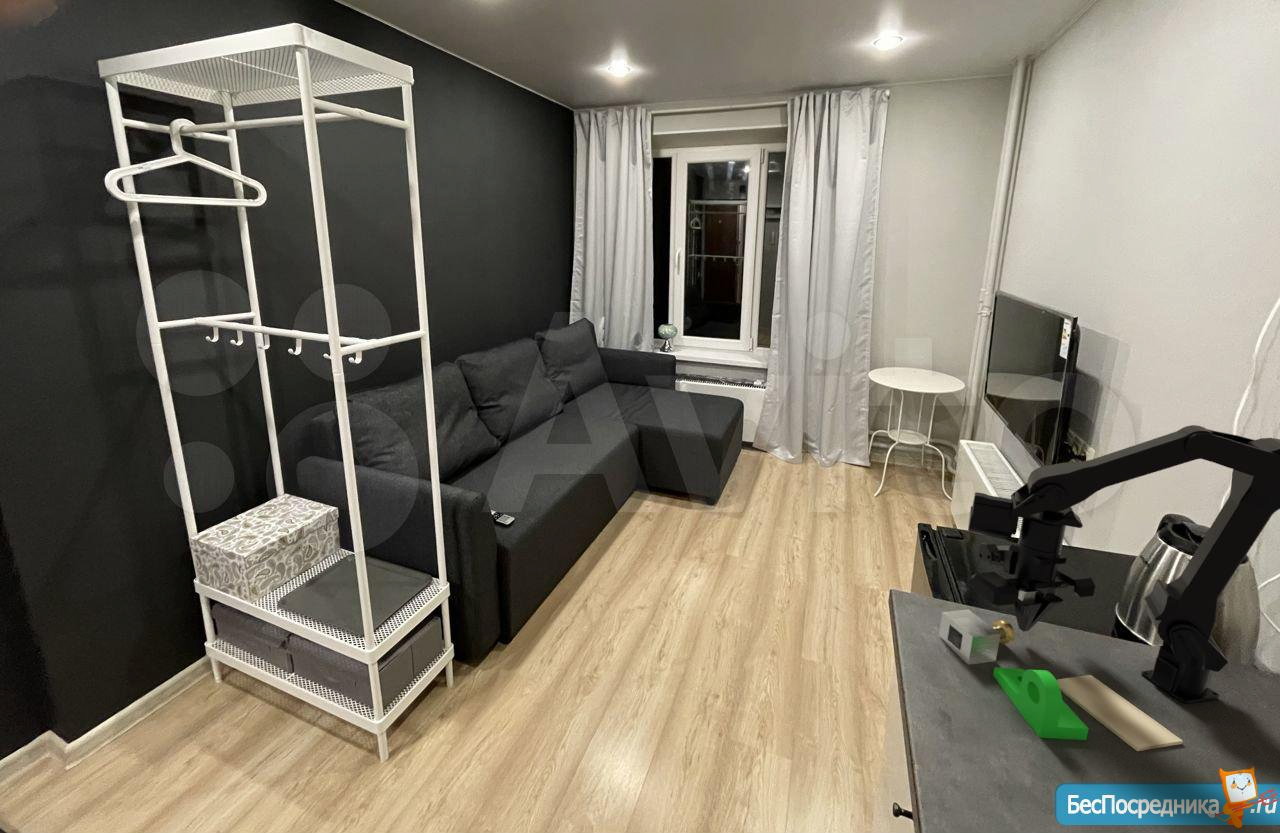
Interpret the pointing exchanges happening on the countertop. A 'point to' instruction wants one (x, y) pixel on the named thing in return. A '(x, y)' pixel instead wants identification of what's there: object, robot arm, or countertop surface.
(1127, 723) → the beige wooden board
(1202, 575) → the robot arm
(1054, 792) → the countertop surface
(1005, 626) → the shaft
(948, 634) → the bearing block
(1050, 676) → the mechanical part
